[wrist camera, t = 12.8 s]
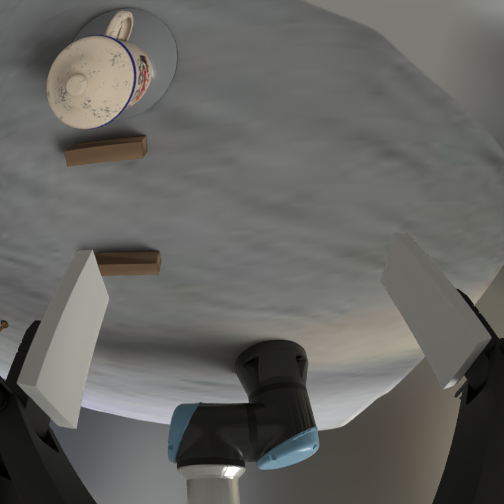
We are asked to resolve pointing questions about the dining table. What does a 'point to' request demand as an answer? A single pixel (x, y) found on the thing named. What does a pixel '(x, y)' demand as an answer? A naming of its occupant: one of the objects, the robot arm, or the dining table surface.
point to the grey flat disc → (153, 44)
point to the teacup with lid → (98, 76)
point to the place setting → (3, 325)
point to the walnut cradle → (104, 153)
